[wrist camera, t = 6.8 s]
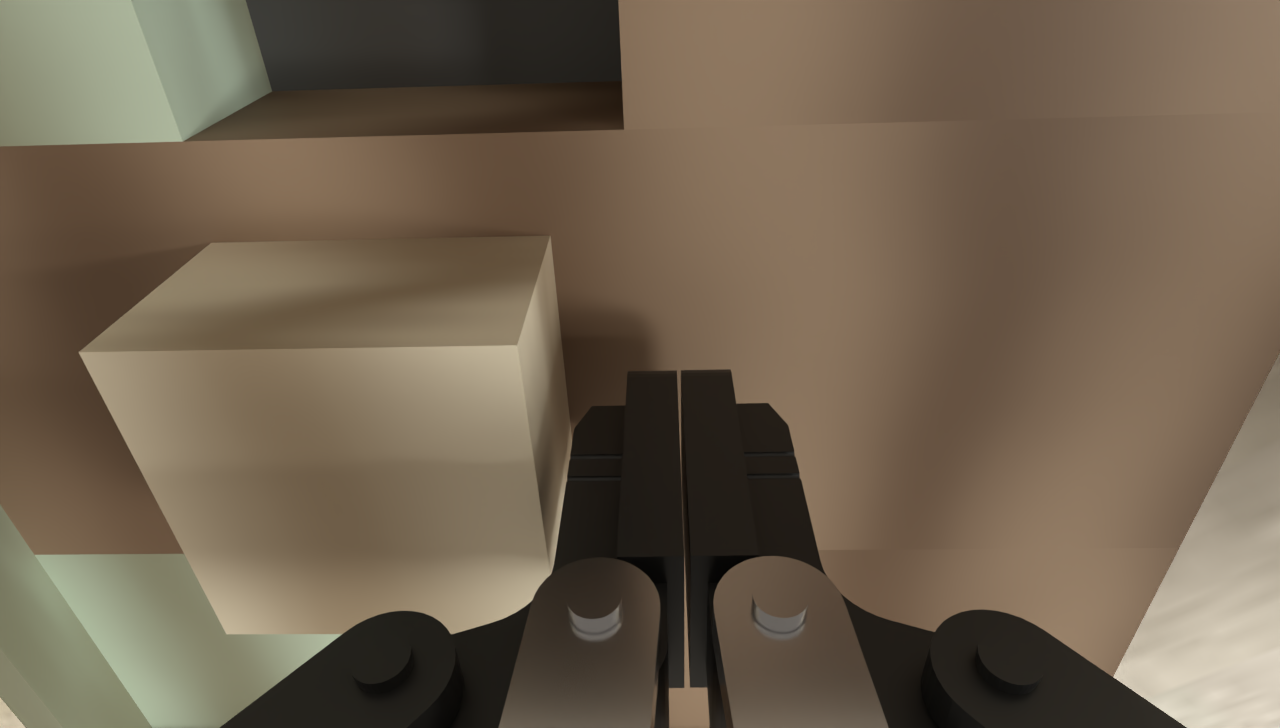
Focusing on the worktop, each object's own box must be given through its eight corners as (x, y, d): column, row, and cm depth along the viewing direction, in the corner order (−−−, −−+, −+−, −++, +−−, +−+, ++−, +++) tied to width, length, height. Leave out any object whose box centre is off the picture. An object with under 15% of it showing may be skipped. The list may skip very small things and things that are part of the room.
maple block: (550, 235, 11) (517, 345, 8) (577, 492, 14) (558, 633, 11) (211, 242, 11) (78, 352, 8) (305, 495, 14) (226, 634, 11)
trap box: (1501, -585, 8) (2187, -957, 5) (1023, 641, 20) (1106, 816, 16) (-431, -471, 9) (-1184, -706, 5) (196, 642, 21) (96, 809, 17)
